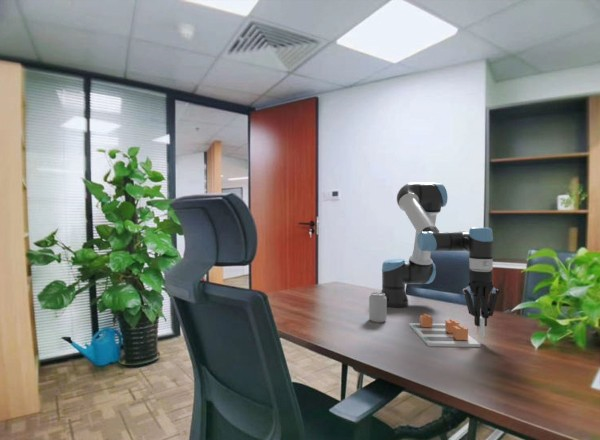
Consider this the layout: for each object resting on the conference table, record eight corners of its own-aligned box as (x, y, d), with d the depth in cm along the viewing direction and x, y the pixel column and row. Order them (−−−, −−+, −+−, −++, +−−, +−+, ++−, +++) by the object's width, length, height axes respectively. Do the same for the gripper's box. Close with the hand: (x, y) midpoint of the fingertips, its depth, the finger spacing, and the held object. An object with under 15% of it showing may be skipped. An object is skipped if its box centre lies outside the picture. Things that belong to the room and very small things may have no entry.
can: (367, 321, 146) (367, 294, 146) (371, 317, 153) (371, 290, 153) (384, 324, 143) (384, 296, 143) (388, 319, 149) (388, 292, 149)
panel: (409, 325, 141) (409, 322, 141) (453, 326, 140) (453, 323, 140) (428, 346, 118) (428, 342, 118) (480, 346, 117) (480, 343, 117)
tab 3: (452, 336, 124) (452, 324, 124) (463, 337, 123) (463, 324, 123) (456, 339, 120) (456, 327, 120) (467, 340, 120) (467, 327, 120)
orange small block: (419, 324, 138) (419, 313, 138) (429, 324, 138) (429, 313, 138) (422, 327, 135) (422, 315, 135) (432, 327, 135) (432, 315, 135)
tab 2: (445, 330, 131) (445, 318, 131) (455, 330, 130) (455, 318, 130) (448, 333, 127) (448, 321, 127) (459, 333, 127) (459, 321, 127)
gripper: (467, 271, 118) (467, 338, 118) (505, 271, 118) (504, 338, 118) (458, 268, 126) (457, 331, 126) (493, 268, 125) (493, 331, 125)
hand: (480, 334), depth 122 cm, fingers closed
